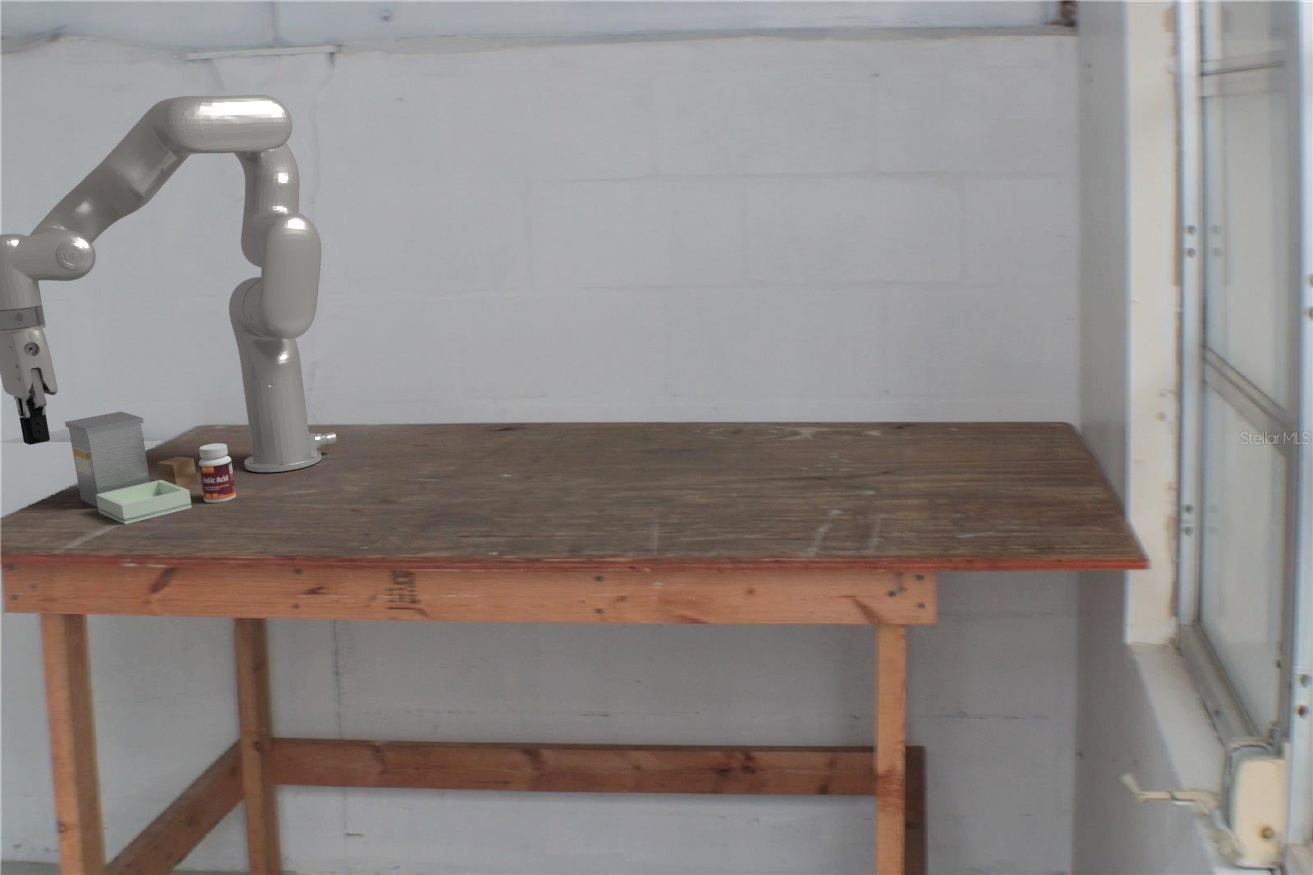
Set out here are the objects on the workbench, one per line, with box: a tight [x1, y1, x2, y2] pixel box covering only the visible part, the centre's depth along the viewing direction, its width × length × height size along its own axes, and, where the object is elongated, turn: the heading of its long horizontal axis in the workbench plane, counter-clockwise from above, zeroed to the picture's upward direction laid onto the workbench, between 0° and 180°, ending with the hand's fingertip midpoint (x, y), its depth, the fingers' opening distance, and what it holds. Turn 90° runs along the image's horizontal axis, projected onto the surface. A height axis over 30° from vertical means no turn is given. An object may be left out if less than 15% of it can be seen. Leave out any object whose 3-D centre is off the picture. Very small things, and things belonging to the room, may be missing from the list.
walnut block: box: [156, 456, 198, 488], centre depth 197 cm, size 4×4×4 cm
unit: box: [64, 411, 151, 508], centre depth 189 cm, size 9×9×13 cm
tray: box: [96, 479, 193, 525], centre depth 183 cm, size 10×10×3 cm
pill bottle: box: [198, 442, 237, 504], centre depth 186 cm, size 5×5×8 cm
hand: (37, 442), depth 181 cm, fingers closed
